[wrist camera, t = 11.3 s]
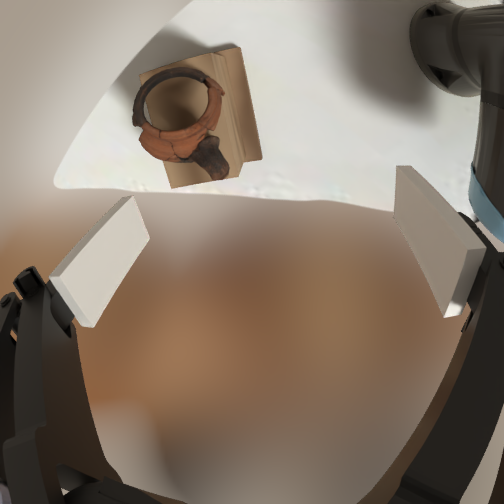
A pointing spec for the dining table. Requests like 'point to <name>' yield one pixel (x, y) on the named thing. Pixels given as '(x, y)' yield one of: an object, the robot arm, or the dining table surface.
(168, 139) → the broken clay pot
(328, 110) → the dining table surface
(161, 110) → the stand
